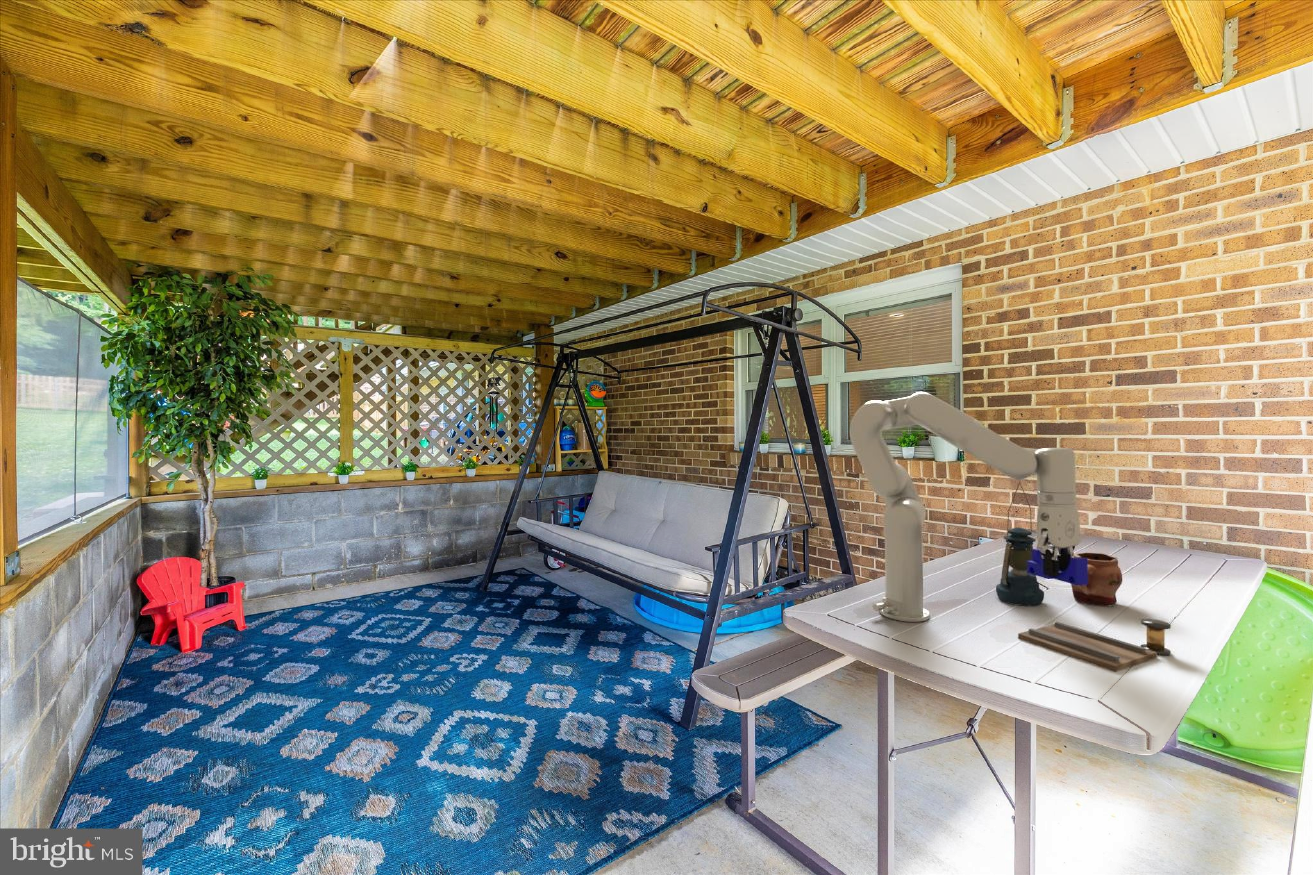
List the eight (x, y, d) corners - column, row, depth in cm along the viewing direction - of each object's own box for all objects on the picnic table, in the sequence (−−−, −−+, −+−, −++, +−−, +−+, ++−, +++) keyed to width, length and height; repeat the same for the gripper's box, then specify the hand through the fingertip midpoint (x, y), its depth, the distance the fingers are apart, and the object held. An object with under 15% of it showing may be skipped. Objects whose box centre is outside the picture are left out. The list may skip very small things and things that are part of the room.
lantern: (1024, 610, 151) (1024, 485, 150) (984, 598, 162) (983, 481, 161) (1056, 602, 156) (1055, 482, 156) (1015, 591, 167) (1014, 479, 167)
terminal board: (1115, 671, 113) (1115, 661, 112) (1018, 638, 131) (1018, 629, 131) (1156, 657, 119) (1156, 647, 119) (1058, 627, 137) (1058, 619, 137)
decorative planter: (1115, 617, 144) (1115, 565, 144) (1059, 606, 153) (1059, 557, 153) (1127, 600, 157) (1127, 553, 157) (1075, 591, 166) (1075, 546, 166)
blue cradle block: (1027, 572, 136) (1026, 549, 136) (1042, 571, 136) (1042, 548, 136) (1071, 585, 124) (1070, 559, 124) (1088, 584, 125) (1087, 558, 125)
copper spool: (1163, 657, 119) (1163, 627, 119) (1135, 649, 124) (1135, 620, 124) (1175, 653, 121) (1175, 624, 121) (1147, 645, 126) (1147, 617, 126)
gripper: (1052, 503, 123) (1054, 582, 123) (1094, 497, 130) (1096, 572, 130) (1018, 500, 130) (1020, 575, 130) (1060, 494, 137) (1061, 566, 137)
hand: (1058, 573), depth 130 cm, fingers closed on blue cradle block, 4 cm apart
